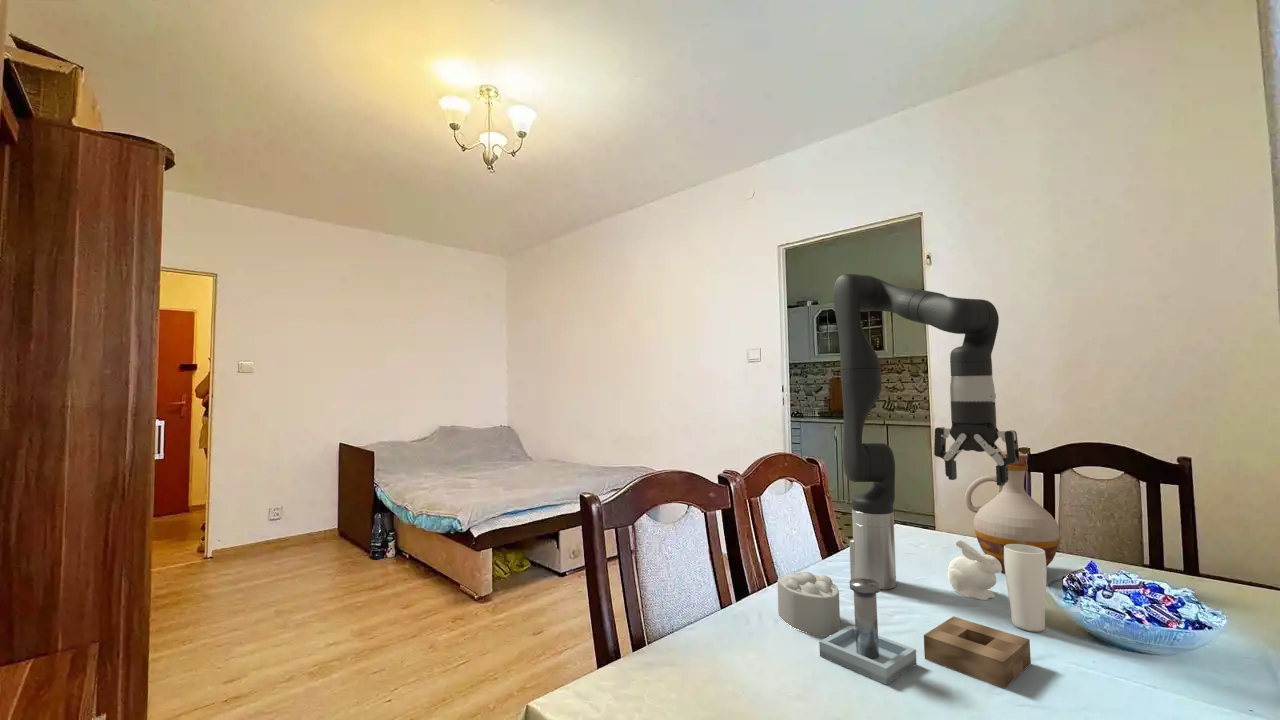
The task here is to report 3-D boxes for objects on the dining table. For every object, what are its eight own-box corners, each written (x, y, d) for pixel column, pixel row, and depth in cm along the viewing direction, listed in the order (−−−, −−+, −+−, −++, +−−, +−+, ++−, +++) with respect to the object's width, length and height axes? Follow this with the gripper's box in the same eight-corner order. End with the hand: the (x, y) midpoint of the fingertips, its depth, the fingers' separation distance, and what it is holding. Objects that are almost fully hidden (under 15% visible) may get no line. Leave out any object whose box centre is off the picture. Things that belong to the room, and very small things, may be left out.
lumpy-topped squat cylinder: (815, 606, 116) (814, 565, 116) (854, 632, 103) (852, 586, 103) (772, 612, 113) (770, 570, 113) (806, 639, 100) (804, 592, 101)
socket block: (924, 658, 93) (923, 634, 93) (954, 638, 100) (953, 616, 100) (1004, 688, 83) (1003, 662, 83) (1030, 663, 91) (1029, 639, 91)
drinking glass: (1057, 636, 100) (1053, 554, 101) (1017, 633, 102) (1013, 552, 103) (1038, 620, 107) (1034, 544, 108) (1000, 618, 108) (997, 542, 109)
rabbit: (1008, 601, 117) (1006, 545, 118) (974, 606, 115) (971, 549, 115) (962, 582, 129) (959, 531, 129) (929, 586, 126) (927, 534, 127)
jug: (965, 574, 134) (959, 453, 135) (970, 555, 148) (965, 446, 150) (1065, 590, 123) (1058, 458, 124) (1059, 568, 137) (1053, 450, 139)
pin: (847, 653, 93) (844, 582, 94) (862, 644, 96) (858, 576, 96) (873, 664, 89) (870, 590, 90) (888, 654, 92) (884, 583, 93)
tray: (819, 655, 94) (819, 641, 94) (850, 639, 100) (850, 625, 100) (886, 685, 85) (886, 668, 85) (916, 664, 91) (915, 649, 91)
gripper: (926, 399, 109) (929, 480, 108) (1007, 399, 98) (1011, 489, 97) (942, 398, 114) (945, 476, 113) (1021, 399, 103) (1025, 484, 102)
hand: (976, 482), depth 105 cm, fingers open, 8 cm apart
